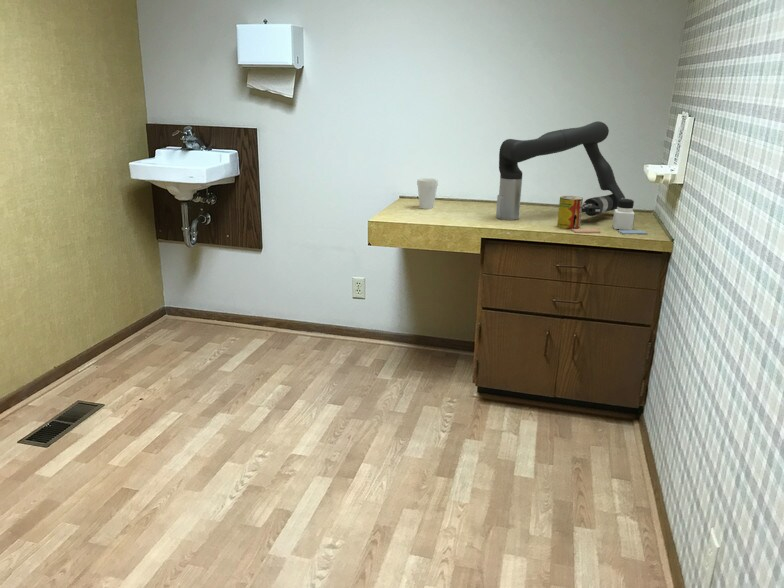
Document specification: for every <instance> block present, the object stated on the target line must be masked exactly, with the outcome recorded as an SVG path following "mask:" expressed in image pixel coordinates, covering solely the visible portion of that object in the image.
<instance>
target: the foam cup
mask: <svg viewBox="0 0 784 588" xmlns="http://www.w3.org/2000/svg"><path fill="white" fill-rule="evenodd" d="M438 182H439V180H438V179H436V178H426V177H425V178H423V177H421V178H417V181H416V184H417V193H418V202H419V203H418V204H419V209H421V208H423V209H422V210H433V209H434V207H435V201H436V196H437V195H436V193H437V189H438V185H439V184H438ZM432 208H433V209H432Z"/></svg>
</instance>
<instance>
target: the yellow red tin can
mask: <svg viewBox="0 0 784 588" xmlns="http://www.w3.org/2000/svg"><path fill="white" fill-rule="evenodd" d="M583 200H584V197H581V196H574V195H563V196H562V195H561V196H559V204H558V212H557V213H558V214H557V223H556V227H557V228H559V227H560V229H563V228H564V230H571V229H581V222H582V221H581V220H582V213H581V212H582V204H583V203H584V202H583Z"/></svg>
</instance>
